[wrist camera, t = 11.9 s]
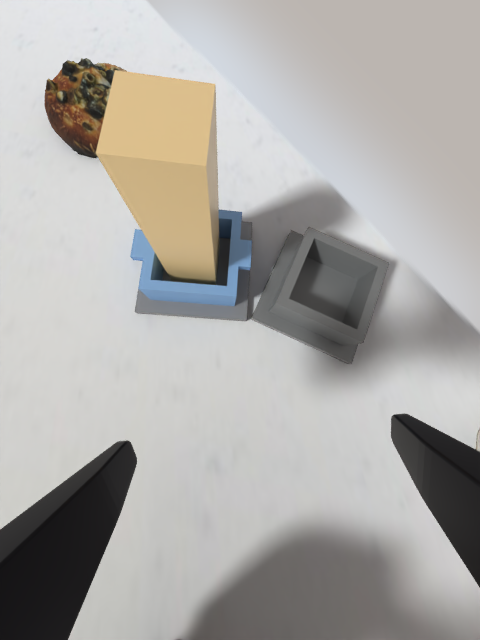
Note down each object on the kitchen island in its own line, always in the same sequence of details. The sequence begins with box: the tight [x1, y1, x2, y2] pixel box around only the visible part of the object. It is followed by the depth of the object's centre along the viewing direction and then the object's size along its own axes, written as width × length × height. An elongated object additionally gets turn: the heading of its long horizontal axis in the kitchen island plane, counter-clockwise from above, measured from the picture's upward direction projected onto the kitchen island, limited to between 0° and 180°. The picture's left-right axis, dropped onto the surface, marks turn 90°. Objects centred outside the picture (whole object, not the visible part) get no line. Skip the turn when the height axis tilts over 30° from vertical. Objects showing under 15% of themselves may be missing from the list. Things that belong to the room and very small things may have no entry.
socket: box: [251, 227, 389, 364], centre depth 21 cm, size 10×10×4 cm
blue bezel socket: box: [130, 210, 252, 321], centre depth 20 cm, size 10×10×4 cm
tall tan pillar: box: [96, 70, 220, 285], centre depth 15 cm, size 4×4×13 cm
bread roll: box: [45, 58, 127, 158], centre depth 23 cm, size 11×11×5 cm
